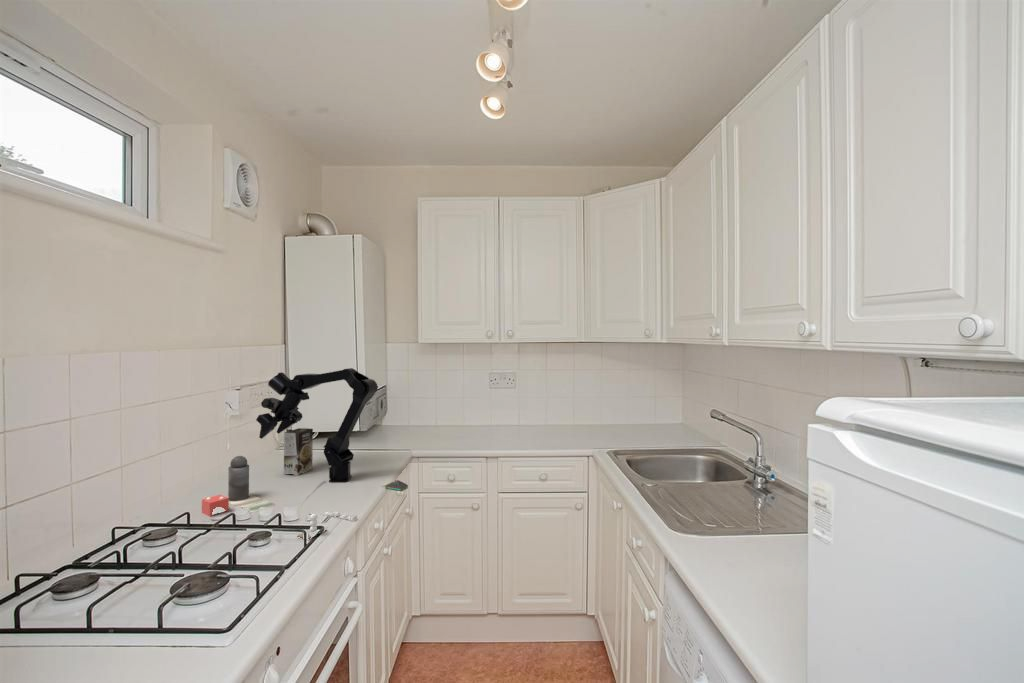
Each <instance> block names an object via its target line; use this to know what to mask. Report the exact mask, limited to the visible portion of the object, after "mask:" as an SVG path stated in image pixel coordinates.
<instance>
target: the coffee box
mask: <svg viewBox="0 0 1024 683" xmlns="http://www.w3.org/2000/svg"><path fill="white" fill-rule="evenodd" d="M313 436H314V429H313V428H309V427H308V428H306V427H305V428H302V427H301V428H300V427H299V428H296V429H295V428H294V429H292V430H288V431H285V432H284V436H283V437H284V438H283V440H284V441H283V444H284V446H283V475H285V474H294V475H293V476H296V475H298V476H300V475H302V474H304V473H303V472H305V473H307V472H309V471H311V470H313V459H314V458H313V448H314V447H313V445H314V441H313V440H314V437H313ZM310 469H311V470H310ZM308 470H309V471H308ZM306 471H307V472H306ZM301 473H302V474H301ZM299 474H300V475H299Z"/></svg>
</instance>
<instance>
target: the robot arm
mask: <svg viewBox="0 0 1024 683" xmlns="http://www.w3.org/2000/svg"><path fill="white" fill-rule="evenodd" d="M339 381H345V382H346V383H347V384H348V386H349V387H350V388H351V389H352V401H351V403H350V406H349V408H348V410H347V412H346V414H345V416H344V418H343V420H342V422H341V424H340V426H339V428H338V429H337V430H338V431H337V432H336V434H334V435H331V436H329V437H328V438H327V440H326V443H325V445H324V446H323V448H324V449H323V455H324V457H325V458H326V462H327V465H328V466H330V467H329V468H328V469H329V470H328V473H329V474H328V479H329V480H328V482H329V483H347V482H348V481H349V480H350V479H351V478H352V477H353V475H351V462H352V461H353V459H354V456H355V454H354V453H353V452H352V451H351V449H349V446H350V437H351V434H352V433H353V431H354V428H355V426H356V425H357V422H358V421H359V418H360V416H361V414H362V412H363V410H364V407H365V406H366V404H367V403H368V402H370V400H371V399H372V398H373V397H374V395H376V393H377V391H378V389H379V388H378V387H379V386H378V383H377V382H376V380H374V379H372V378H369V377H368V376H366V375H364V374H362V373H360V372H359V371H357V370H356V369H354V368H352V367H350V368H344V369H339V370H335V371H329V372H323V373H302V374H296V375H294V377H293V378H292V379H290V378H289V377H288V376H287V375H286V374H285V373H284V372H282V371H281V372H278V373H277V374H276V375H275V376H273V377H272V378H271V379H269V381H268V387H269V388H271V389H272V390H273V391H274V392H276V393H277V394H278V395H280V396H282V395H284V397H283V398H282V400H281V399H278V398H275V397H267V398H264V399H262V401H261V404H260V406H261V408H264V409H268V410H270V412H271V413H272V414H274V416H273V415H272V414H270V413H269V412H268V413H267V412H266V413H263V414H259V415H258V416H257V418H256V419H255V420H256V422H257V423H259V424H260V430H259V437H258V438H259V439H264V438H265V437H266V436H267V435H268V434H270V433H271V432H272V431H274V430H275V429H276V427H277V426H278V428H277V429H276V433H277V434H281V433H282V432H283V431H285V430H287V429H288V428H290V427H292V426H294V425H295V424H297V423H298V422H301V420H302V418H303V413H302V412H300V411H299V409H300V408H299V407H298V406H299V404H300V403H301V402H302V401H307V400H310V396H309V392H308V391H307V392H305V391H304V390H309V389H312V388H315V387H318V386H320V385H323V384H327V383H332V382H339ZM279 422H280V424H279Z"/></svg>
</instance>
